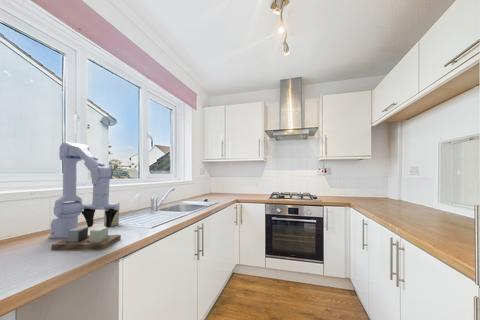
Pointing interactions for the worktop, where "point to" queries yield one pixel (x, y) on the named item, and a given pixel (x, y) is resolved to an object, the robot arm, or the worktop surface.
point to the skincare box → (115, 219)
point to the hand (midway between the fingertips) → (99, 226)
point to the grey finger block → (77, 234)
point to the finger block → (98, 234)
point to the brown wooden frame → (86, 244)
